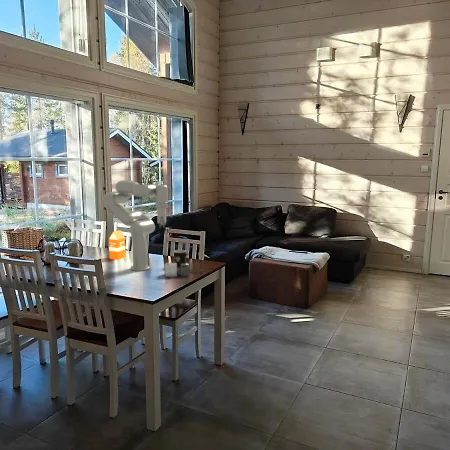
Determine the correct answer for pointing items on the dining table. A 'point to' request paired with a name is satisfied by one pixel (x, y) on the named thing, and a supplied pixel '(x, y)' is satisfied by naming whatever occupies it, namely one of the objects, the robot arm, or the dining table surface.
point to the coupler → (184, 270)
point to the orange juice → (117, 245)
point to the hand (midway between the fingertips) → (162, 232)
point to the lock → (170, 269)
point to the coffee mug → (180, 257)
